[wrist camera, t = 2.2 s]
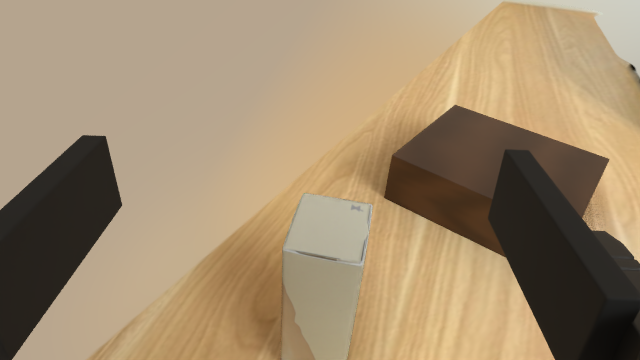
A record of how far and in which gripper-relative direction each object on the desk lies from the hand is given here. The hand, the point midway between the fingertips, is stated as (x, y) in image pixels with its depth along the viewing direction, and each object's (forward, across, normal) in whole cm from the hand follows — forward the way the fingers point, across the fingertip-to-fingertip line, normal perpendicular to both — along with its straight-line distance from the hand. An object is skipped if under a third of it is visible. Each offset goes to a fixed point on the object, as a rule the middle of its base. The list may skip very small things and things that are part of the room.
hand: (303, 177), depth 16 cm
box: (+8, +1, -18) cm, 20 cm away
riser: (+26, +17, -17) cm, 35 cm away
